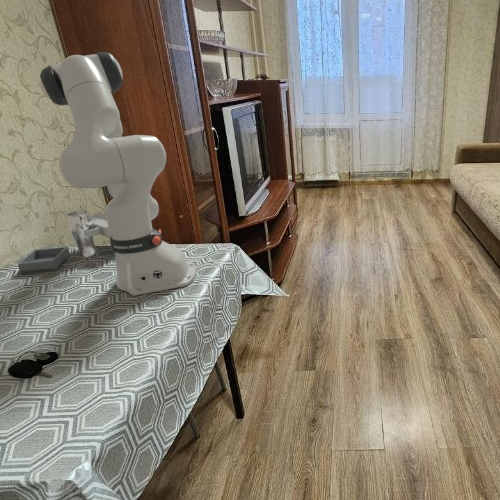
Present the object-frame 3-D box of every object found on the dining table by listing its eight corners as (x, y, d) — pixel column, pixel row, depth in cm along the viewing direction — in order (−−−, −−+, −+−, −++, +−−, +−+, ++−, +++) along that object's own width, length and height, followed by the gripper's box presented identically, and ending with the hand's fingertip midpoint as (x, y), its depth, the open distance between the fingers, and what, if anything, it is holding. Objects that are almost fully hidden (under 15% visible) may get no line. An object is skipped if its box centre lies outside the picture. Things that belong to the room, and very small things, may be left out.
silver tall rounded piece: (84, 250, 132) (73, 209, 126) (103, 250, 131) (92, 209, 125) (73, 259, 126) (61, 216, 120) (92, 259, 124) (81, 216, 118)
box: (70, 255, 129) (67, 246, 127) (57, 270, 118) (53, 260, 117) (37, 259, 128) (34, 249, 127) (21, 274, 118) (17, 264, 117)
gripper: (100, 207, 139) (63, 218, 130) (130, 215, 126) (91, 228, 117) (104, 223, 141) (68, 235, 132) (134, 233, 128) (96, 247, 119)
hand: (79, 232), depth 124 cm, fingers closed on silver tall rounded piece, 6 cm apart
